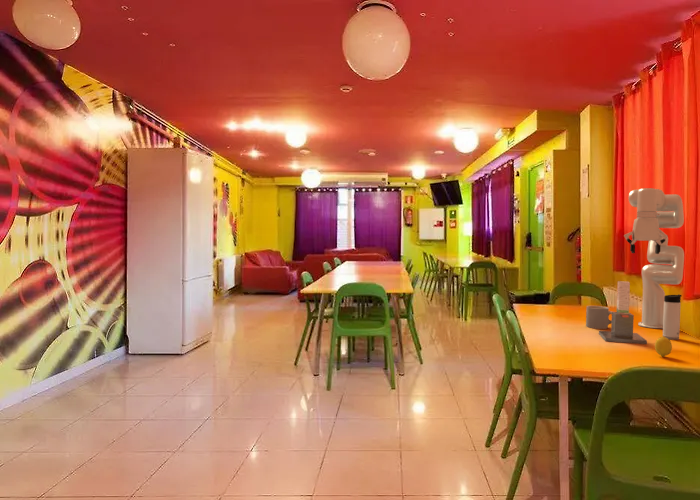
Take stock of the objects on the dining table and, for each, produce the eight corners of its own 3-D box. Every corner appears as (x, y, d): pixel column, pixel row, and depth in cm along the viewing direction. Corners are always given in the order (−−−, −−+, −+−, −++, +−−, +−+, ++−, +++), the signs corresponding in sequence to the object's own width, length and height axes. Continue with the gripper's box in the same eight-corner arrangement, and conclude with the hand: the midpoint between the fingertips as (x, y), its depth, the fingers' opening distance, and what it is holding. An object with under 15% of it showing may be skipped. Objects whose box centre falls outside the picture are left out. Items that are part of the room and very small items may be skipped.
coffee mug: (585, 327, 246) (585, 307, 246) (586, 324, 255) (587, 305, 255) (615, 330, 240) (616, 310, 239) (616, 327, 248) (616, 307, 248)
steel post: (616, 320, 224) (617, 281, 223) (626, 321, 222) (627, 281, 222) (618, 322, 220) (619, 282, 219) (628, 323, 218) (629, 282, 218)
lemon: (651, 355, 193) (652, 334, 192) (664, 354, 193) (665, 334, 193) (661, 358, 187) (662, 338, 187) (675, 358, 188) (675, 337, 187)
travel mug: (682, 340, 220) (684, 295, 219) (666, 339, 221) (667, 295, 220) (676, 337, 226) (677, 293, 225) (660, 336, 227) (661, 293, 226)
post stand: (598, 333, 231) (599, 309, 231) (637, 336, 227) (637, 311, 226) (605, 341, 216) (606, 315, 216) (646, 344, 211) (647, 317, 211)
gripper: (665, 216, 225) (664, 253, 225) (623, 215, 230) (621, 252, 230) (671, 215, 217) (669, 254, 218) (627, 215, 223) (625, 253, 223)
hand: (645, 253), depth 224 cm, fingers open, 9 cm apart
